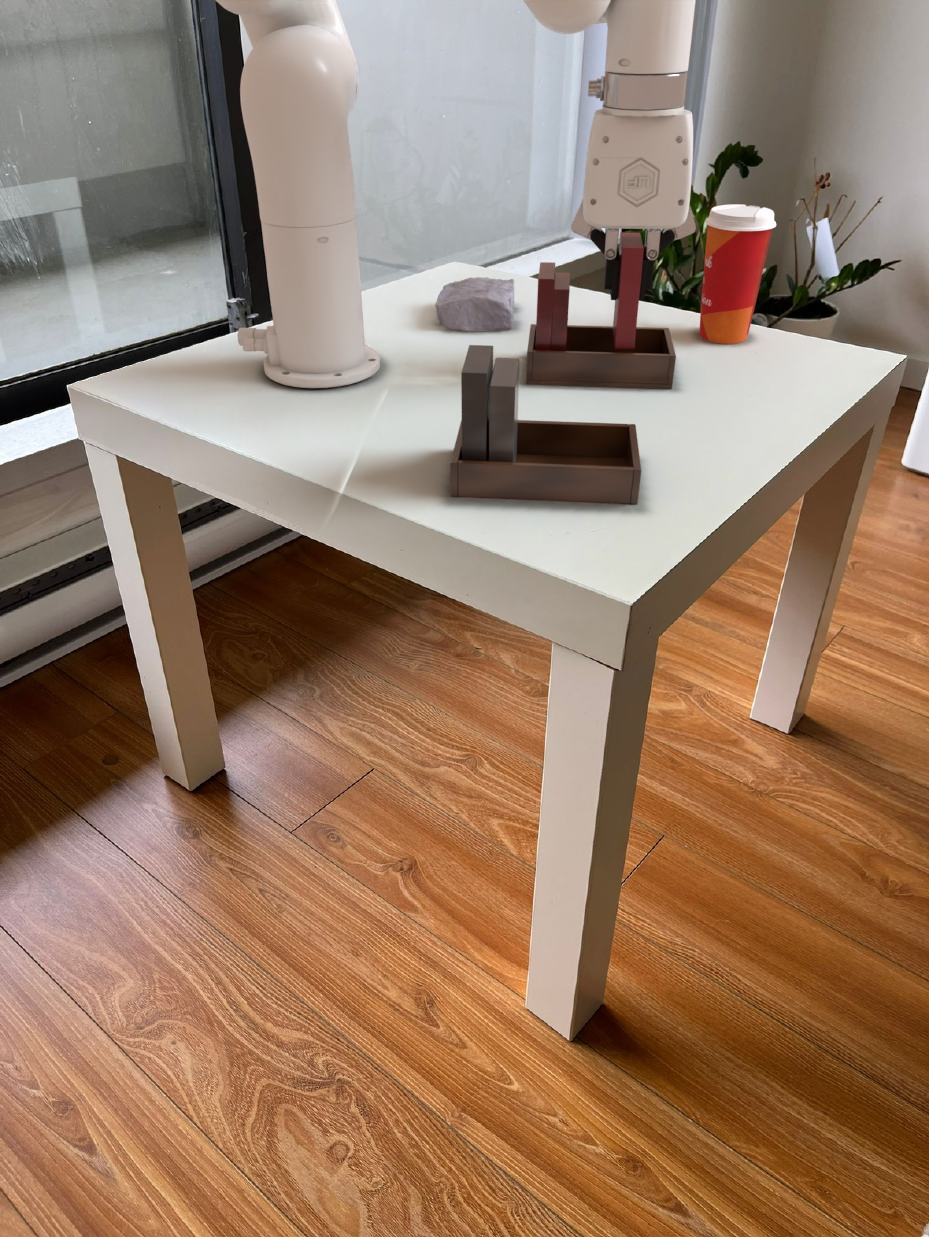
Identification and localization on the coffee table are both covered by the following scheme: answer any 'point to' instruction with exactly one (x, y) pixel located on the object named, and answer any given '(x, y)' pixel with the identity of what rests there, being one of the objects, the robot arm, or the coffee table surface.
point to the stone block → (477, 305)
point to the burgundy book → (628, 290)
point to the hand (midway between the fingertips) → (627, 295)
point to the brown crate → (534, 446)
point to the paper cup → (733, 270)
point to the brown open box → (590, 346)
